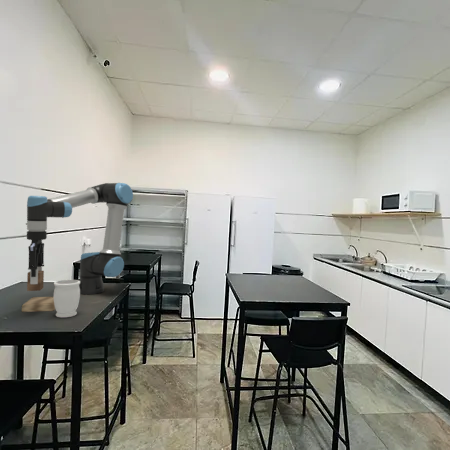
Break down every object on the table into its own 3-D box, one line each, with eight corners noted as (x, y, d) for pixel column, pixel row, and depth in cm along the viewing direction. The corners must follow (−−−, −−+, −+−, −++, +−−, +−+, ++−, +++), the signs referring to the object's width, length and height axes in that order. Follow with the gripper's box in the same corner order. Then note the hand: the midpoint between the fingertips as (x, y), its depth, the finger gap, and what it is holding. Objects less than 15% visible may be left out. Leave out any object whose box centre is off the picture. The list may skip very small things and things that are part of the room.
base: (61, 302, 155) (61, 296, 155) (53, 310, 142) (53, 303, 142) (32, 303, 152) (32, 296, 152) (21, 311, 138) (21, 304, 138)
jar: (51, 319, 130) (52, 285, 130) (54, 312, 140) (55, 280, 139) (79, 317, 134) (79, 283, 134) (79, 310, 144) (80, 279, 144)
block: (43, 287, 139) (43, 270, 139) (40, 290, 134) (40, 272, 134) (30, 288, 138) (31, 270, 137) (27, 290, 133) (27, 272, 133)
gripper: (34, 229, 143) (33, 278, 144) (19, 231, 125) (18, 287, 126) (51, 229, 145) (51, 278, 146) (40, 232, 127) (39, 287, 128)
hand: (36, 282), depth 136 cm, fingers closed on block, 5 cm apart
